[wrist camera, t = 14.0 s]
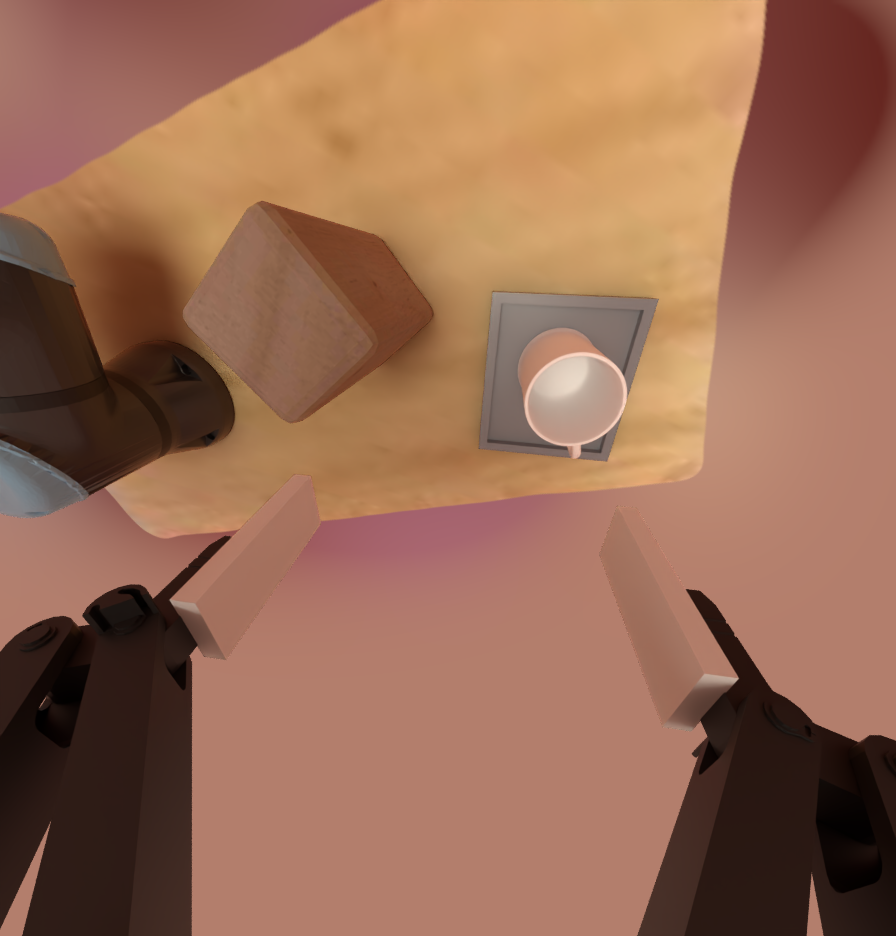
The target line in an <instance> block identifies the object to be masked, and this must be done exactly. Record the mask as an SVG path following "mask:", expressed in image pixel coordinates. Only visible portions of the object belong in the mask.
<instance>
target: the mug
mask: <svg viewBox="0 0 896 936" xmlns="http://www.w3.org/2000/svg"><path fill="white" fill-rule="evenodd" d="M518 379H519V382H520V385H521V387H522V394H523V402H524V409H525V415H526V418H527V421H528V423H529V425H530V426H531V428H532V429H533V431H534V432H535V433H536V434H537V435H538V436H540V437H541V438H542V439H544V440H546V441H548V442H550V443H552V444H556V445H560V446H567V448H568V451H569V454H570V456H571V458H578V457H580V454H581V445H583V444H586V443H589V442H592V441H594V440H596V439H598V438H600V437H601V436H603V435H604V434H606V433H607V432H608V431H609V430H610V429H611V428H612V427H613V426H614V425H615V424H616V423H617V421H618V420H619V418H620V417H621V415H622V413H623V411H624V408H625V405H626V401H627V386H626V382H625V379H624V376H623V374H622V372H621V371H620V369H619V368H618V367H617V366H616V365H615V364H614V363H613V362H612V361H611V360H610V359H608V358H607V357H606V356H605V355H604V354H602V353H601V352H600V351H599V350H598V349H596V348H595V347H594V346H593V344H592V343H591V341H590V340H589V339H588V338H587V337H586V336H585V335H584V334H582V333H580V332H579V331H576V330H574V329H570V328H554V329H550V330H547V331H545V332H542V333H541V334H539V335H537V336H536V337H535V338H533V339H532V340H531V341H530V342H529V343H528V345H527V346H526V347H525V349H524V350H523V352H522V354H521V356H520V359H519V363H518Z"/></svg>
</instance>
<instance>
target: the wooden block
mask: <svg viewBox="0 0 896 936" xmlns="http://www.w3.org/2000/svg"><path fill="white" fill-rule="evenodd" d="M432 315H433V313H432V310H431V307H430V305H429V304H428V303H427V301H426V300H425V299H424V297H423V296H422V294H421V293H420V292H419V290H418V289H417V288H416V286H415V285H414V284H413V282H412V281H411V279H410V278H409V277H408V275H407V274H406V273H405V271H404V270H403V269H402V267H401V266H400V264H399V263H398V262H397V260H396V259H395V258H394V256H393V255H392V254H391V252H390V251H389V249H388V248H387V247H386V245H385V244H384V243H383V241H382V240H381V239H380V238H379V237H377V236H375V235H374V234H370V233H367V232H364V231H360V230H357V229H354V228H350V227H347V226H344V225H340V224H337V223H334V222H331V221H327V220H324V219H321V218H317V217H314V216H311V215H307V214H304V213H301V212H297V211H294V210H291V209H287V208H284V207H281V206H277V205H274V204H271V203H268V202H264V201H261V202H258V203H256V204H254V205H253V206H251V207H249V208H248V209H247V210H246V212H245V213H244V215H243V216H242V218H241V219H240V221H239V223H238V224H237V226H236V227H235V229H234V230H233V232H232V234H231V235H230V237H229V238H228V240H227V242H226V243H225V245H224V246H223V248H222V249H221V251H220V253H219V254H218V256H217V257H216V259H215V260H214V262H213V264H212V265H211V267H210V268H209V270H208V271H207V273H206V275H205V276H204V278H203V279H202V281H201V283H200V284H199V286H198V287H197V289H196V290H195V292H194V294H193V295H192V297H191V298H190V300H189V301H188V303H187V305H186V306H185V308H184V309H183V318H184V320H185V322H186V324H187V325H188V327H189V328H190V329H191V330H192V331H193V332H194V333H195V334H196V335H197V336H198V337H199V338H200V339H201V340H202V341H203V342H204V343H205V344H206V345H207V346H208V347H209V348H211V349H212V350H213V351H214V352H215V353H216V354H217V355H218V356H219V357H220V358H221V359H222V360H223V361H224V362H225V363H226V364H227V365H228V366H229V367H230V368H231V369H232V370H233V371H234V372H235V373H236V374H237V375H238V376H239V377H240V378H241V379H242V380H243V381H244V382H245V383H246V384H247V385H248V386H249V387H250V388H251V389H252V390H253V391H254V392H255V393H256V394H257V395H258V396H259V397H260V398H261V399H262V400H263V401H264V402H265V403H266V404H267V405H268V406H269V407H270V408H271V409H272V410H273V411H274V412H275V413H276V414H277V415H278V416H279V417H280V418H281V419H283V420H285V421H287V422H288V423H295V422H299V421H303V420H304V419H306V418H307V417H309V416H310V415H311V414H313V413H314V412H316V411H317V410H318V409H320V408H321V407H323V406H324V405H325V404H327V403H328V402H330V401H331V400H332V399H334V398H335V397H337V396H338V395H339V394H341V393H342V392H344V391H345V390H346V389H348V388H349V387H351V386H352V385H353V384H355V383H356V382H358V381H359V380H361V379H362V378H363V377H365V376H366V375H368V374H369V373H370V372H372V371H373V370H375V369H376V368H377V367H379V366H380V365H381V364H383V363H384V362H385V361H386V360H387V359H388V358H389V357H390V356H391V355H393V354H394V353H395V352H396V351H397V350H398V349H399V348H400V347H401V346H403V345H404V344H405V343H406V342H407V341H408V340H409V339H410V338H412V337H413V336H414V335H415V334H416V333H417V332H418V331H419V330H420V329H422V328H423V327H424V326H425V325H426V324H427V323H428V322H429V321H430V320H431V317H432Z"/></svg>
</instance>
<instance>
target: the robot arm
mask: <svg viewBox="0 0 896 936" xmlns="http://www.w3.org/2000/svg"><path fill="white" fill-rule="evenodd" d="M74 287H76V285H75V282H74V281H73V280H72V279H71V278H70V277H69V275H68V273H67V271H66V268H65V266H64V264H63V261H62V259H61V257H60V254H59V252H58V250H57V247H56V245H55V243H54V242H53V240H52V239H51V237H50V236H49V235H48V234H47V233H46V232H45V231H44V230H42V229H41V228H40V227H38V226H37V225H35V224H33V223H31V222H30V221H27V220H25V219H23V218H20V217H16V216H12V215H8V214H4V213H0V514H3V515H8V516H13V517H19V518H35V517H42V516H46V515H48V514H51V513H53V512H55V511H58V510H60V509H62V508H65V507H67V506H69V505H71V504H73V503H76V502H78V501H83V500H85V499H87V498H88V496H89V495H91V494H93V493H95V492H97V491H99V490H101V489H102V488H104V487H106V486H108V485H110V484H112V483H113V482H115V481H117V480H119V479H121V478H123V477H125V476H127V475H128V474H130V473H132V472H134V471H136V470H138V469H140V468H142V467H144V466H145V465H147V464H149V463H151V462H153V461H155V460H156V459H158V458H160V457H162V456H164V455H167V454H173V453H178V452H184V451H190V450H196V449H201V448H205V447H208V446H211V445H213V444H214V443H216V442H218V441H220V440H221V439H223V438H224V437H226V436H227V434H228V433H229V432H230V430H231V428H232V425H233V420H234V410H233V404H232V401H231V398H230V395H229V392H228V390H227V388H226V386H225V385H224V383H223V381H222V380H221V378H220V377H219V376H218V374H217V373H216V372H215V371H214V369H213V368H212V367H211V366H210V365H209V364H208V363H207V362H206V361H205V360H203V359H202V358H201V357H200V356H198V355H197V354H196V353H194V352H193V351H191V350H189V349H187V348H186V347H184V346H181V345H179V344H176V343H173V342H169V341H151V342H146V343H141V344H137V345H134V346H132V347H129V348H128V349H126V350H125V351H123V352H122V353H120V354H119V355H118V356H116V357H115V358H113V359H112V360H110V361H109V362H107V363H106V364H104V365H103V366H102V363H101V360H100V357H99V355H98V352H97V349H96V347H95V344H94V341H93V338H92V336H91V333H90V330H89V327H88V325H87V322H86V319H85V316H84V314H83V311H82V308H81V305H80V303H79V300H78V297H77V295H76V292H75V289H74ZM320 525H321V522H320V517H319V512H318V507H317V503H316V498H315V493H314V488H313V484H312V479H311V476H306V475H296V474H294V475H293V476H292V477H291V478H290V479H289V480H288V481H287V482H286V483H285V484H284V485H283V486H282V487H281V488H280V489H279V490H278V491H277V492H276V493H275V494H274V495H273V496H272V497H271V498H270V499H269V500H268V501H267V502H266V503H265V504H264V505H263V506H262V507H261V508H260V509H259V510H258V511H257V512H256V513H255V514H254V515H253V516H252V517H251V518H250V519H249V520H248V521H247V522H246V523H245V524H244V525H243V526H242V527H241V528H240V529H239V530H238V531H237V533H235V535H234V536H232V537H230V536H224V537H222V538H221V539H219V540H217V541H216V542H214V543H212V544H211V545H209V546H208V547H207V548H206V549H205V550H204V551H203V552H202V553H201V554H200V555H199V556H198V558H196V559H194V560H193V561H192V562H191V563H190V564H189V566H188V568H185V569H184V570H183V571H182V572H181V573H180V574H179V575H178V576H177V577H176V578H175V579H173V580H172V581H171V582H170V583H169V584H168V585H167V586H166V587H165V588H164V589H163V590H162V591H161V592H160V593H159V594H158V595H157V596H156V597H155V598H153V599H152V597H151V595H150V594H149V592H148V591H147V589H146V588H145V587H143V586H141V585H126V586H122V587H118V588H116V589H114V590H111V591H109V592H107V593H105V594H104V595H102V596H100V597H99V598H97V599H96V600H95V601H94V602H92V603H91V604H90V605H89V606H88V607H87V608H86V610H85V612H84V613H83V617H84V619H85V620H86V621H87V622H88V623H89V625H85V626H77V625H76V623H75V622H74V621H73V620H72V619H71V618H69V617H66V616H59V617H52V618H49V619H46V620H43V621H40V622H38V623H36V624H34V625H32V626H30V627H28V628H26V629H25V630H23V631H22V632H20V633H19V634H17V635H16V636H15V637H14V638H13V639H12V640H11V641H9V642H8V643H7V644H6V645H5V647H4V648H3V649H2V651H1V652H0V928H1V926H2V924H3V922H4V919H5V918H6V915H7V913H8V911H9V909H10V907H11V905H12V903H13V901H14V898H15V896H16V894H17V892H18V890H19V888H20V885H21V883H22V881H23V879H24V877H25V875H26V873H27V871H28V868H29V866H30V864H31V862H32V860H33V858H34V856H35V853H36V851H37V849H38V847H39V845H40V842H41V841H42V839H43V836H44V834H45V832H46V830H47V828H48V826H49V824H50V822H51V824H50V828H49V832H48V836H47V840H46V844H45V848H44V851H43V855H42V859H41V863H40V868H39V871H38V876H37V879H36V884H35V887H34V891H33V895H32V899H31V903H30V907H29V911H28V915H27V919H26V923H25V927H24V931H23V935H22V936H192V935H191V934H192V931H191V930H192V929H191V928H192V925H191V924H192V923H191V922H192V919H191V918H192V917H191V915H192V907H191V906H192V661H191V658H190V656H189V655H190V654H191V653H192V652H193V650H194V649H195V648H196V647H197V646H198V648H199V649H200V651H201V653H202V654H203V656H204V657H210V658H216V659H223V660H227V658H228V657H229V655H230V654H231V652H232V651H233V650H234V648H235V647H236V645H237V644H238V642H239V641H240V640H241V638H242V637H243V635H244V634H245V632H246V631H247V629H248V628H249V627H250V625H251V624H252V622H253V621H254V619H255V618H256V617H257V615H258V614H259V612H260V611H261V609H262V608H263V606H264V605H265V604H266V602H267V601H268V599H269V598H270V596H271V595H272V594H273V592H274V591H275V589H276V588H277V586H278V585H279V583H280V582H281V581H282V579H283V578H284V576H285V575H286V573H287V572H288V571H289V569H290V568H291V566H292V565H293V563H294V562H295V560H296V559H297V558H298V556H299V555H300V553H301V552H302V550H303V549H304V548H305V546H306V545H307V543H308V542H309V540H310V539H311V537H312V536H313V535H314V533H315V532H316V530H317V529H318V527H319V526H320ZM600 558H601V561H602V563H603V566H604V569H605V572H606V575H607V577H608V580H609V583H610V585H611V588H612V591H613V593H614V596H615V599H616V602H617V604H618V607H619V610H620V613H621V615H622V618H623V621H624V624H625V626H626V629H627V632H628V635H629V637H630V640H631V643H632V645H633V648H634V651H635V654H636V656H637V659H638V662H639V665H640V667H641V670H642V673H643V675H644V678H645V681H646V684H647V686H648V689H649V692H650V695H651V697H652V700H653V703H654V705H655V708H656V711H657V713H658V716H659V719H660V721H661V725H662V727H667V728H673V729H679V730H686V731H692V730H693V729H694V728H695V727H696V725H697V724H698V723H699V722H700V721H701V723H702V725H703V727H704V729H705V732H706V734H707V736H708V737H707V738H706V739H705V740H704V741H703V742H702V743H701V744H700V745H699V746H698V747H697V748H696V749H695V750H694V752H693V753H692V755H693V756H694V757H697V756H698V755H699V756H698V759H697V762H696V765H695V768H694V770H693V774H692V777H691V779H690V782H689V785H688V788H687V791H686V794H685V797H684V800H683V803H682V806H681V809H680V812H679V815H678V818H677V821H676V824H675V826H674V829H673V833H672V835H671V838H670V842H669V844H668V847H667V850H666V853H665V856H664V859H663V862H662V865H661V868H660V871H659V874H658V877H657V879H656V882H655V885H654V889H653V892H652V894H651V897H650V900H649V903H648V906H647V909H646V912H645V915H644V918H643V921H642V924H641V927H640V930H639V932H638V935H637V936H807V923H808V910H809V898H810V885H811V873H812V876H813V881H814V886H815V892H816V897H817V902H818V908H819V913H820V918H821V923H822V929H823V935H824V936H896V741H895V740H892V739H889V738H887V737H884V736H881V735H869V736H868V737H866V738H865V739H863V740H862V741H860V742H857V741H854V740H852V739H849V738H847V737H845V736H842V735H840V734H838V733H835V732H833V731H830V730H828V729H826V728H823V727H821V726H819V725H816V724H814V723H813V722H812V720H811V719H810V718H809V717H808V716H807V715H806V714H805V713H804V712H803V711H802V710H801V709H800V708H799V707H798V706H796V705H795V704H794V703H792V702H791V701H790V700H788V699H787V698H785V697H783V696H782V695H780V694H777V693H776V692H774V691H773V690H772V689H771V688H770V687H769V685H768V684H767V682H766V681H765V679H764V678H763V676H762V675H761V673H760V672H759V670H758V668H757V667H756V666H755V664H754V662H753V661H752V659H751V658H750V657H749V655H748V654H747V652H746V650H745V649H744V647H743V646H742V644H741V643H740V641H739V640H738V638H737V637H735V636H734V632H733V631H732V629H731V628H730V626H729V625H728V624H726V620H725V619H724V617H723V616H722V614H721V613H720V611H719V610H718V608H717V607H716V605H715V604H714V603H713V602H712V601H710V599H708V598H707V597H706V596H705V595H704V594H703V593H702V592H701V591H697V590H689V589H685V588H684V586H683V584H682V583H681V581H680V580H679V578H678V576H677V574H676V573H675V571H674V569H673V568H672V566H671V564H670V563H669V561H668V559H667V558H666V556H665V554H664V553H663V551H662V549H661V548H660V546H659V544H658V543H657V541H656V539H655V538H654V536H653V534H652V533H651V531H650V529H649V528H648V526H647V524H646V523H645V521H644V519H643V517H642V516H641V514H640V512H639V511H638V509H637V508H634V507H623V506H617V508H616V510H615V513H614V516H613V519H612V521H611V524H610V527H609V530H608V532H607V535H606V538H605V541H604V543H603V546H602V549H601V551H600ZM45 697H46V699H45ZM44 699H45V701H44V703H43V704H42V706H41V707H40V705H41V703H42V702H43V700H44ZM39 707H40V708H39ZM51 819H52V820H51Z"/></svg>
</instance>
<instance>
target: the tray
mask: <svg viewBox="0 0 896 936" xmlns="http://www.w3.org/2000/svg"><path fill="white" fill-rule="evenodd" d="M658 300H659V299H654V298H636V297H613V296H590V295H568V294H545V293H522V292H499V291H493V293H492V305H491V316H490V327H489V338H488V349H487V361H486V372H485V383H484V394H483V405H482V417H481V428H480V439H479V449H486V450H496V451H506V452H517V453H527V454H537V455H547V456H557V457H567V458H571V456H570V454H569V451H568V448H567V446H560V445H556V444H552V443H550V442H548V441H546V440H544V439H542V438H541V437H540V436H538V435H537V434H536V433H535V432H534V431H533V429H532V428H531V426H530V425H529V423H528V421H527V418H526V415H525V409H524V402H523V394H522V387H521V385H520V382H519V379H518V363H519V359H520V356H521V354H522V352H523V350H524V349H525V347H526V346H527V345H528V343H529V342H530V341H531V340H532V339H533V338H535V337H536V336H537V335H539V334H541V333H542V332H545V331H547V330H550V329H554V328H570V329H574V330H576V331H579V332H580V333H582V334H584V335H585V336H586V337H587V338H588V339H589V340H590V341H591V343H592V344H593V346H594V347H595V348H596V349H598V350H599V351H600V352H601V353H602V354H604V355H605V356H606V357H607V358H608V359H610V360H611V361H612V362H613V363H614V364H615V365H616V366H617V367H618V368H619V369H620V371H621V372H622V374H623V376H624V379H625V382H626V386H627V398H628V394H629V391H630V388H631V385H632V382H633V379H634V375H635V372H636V369H637V366H638V363H639V360H640V357H641V353H642V350H643V347H644V344H645V341H646V338H647V334H648V331H649V328H650V325H651V322H652V319H653V316H654V312H655V309H656V306H657V303H658ZM621 416H622V415H621ZM620 420H621V417H620V418H619V420H618V421H617V423H616V424H615V425H614V426H613V427H612V428H611V429H610V430H609V431H608V432H607V433H606V434H604V435H603V436H601V437H600V438H598V439H596V440H594V441H592V442H589V443H586V444H583V445H581V454H580V457H578V458H577V459H587V460H597V461H608V457H609V454H610V451H611V448H612V445H613V442H614V438H615V435H616V432H617V429H618V426H619V423H620Z"/></svg>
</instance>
